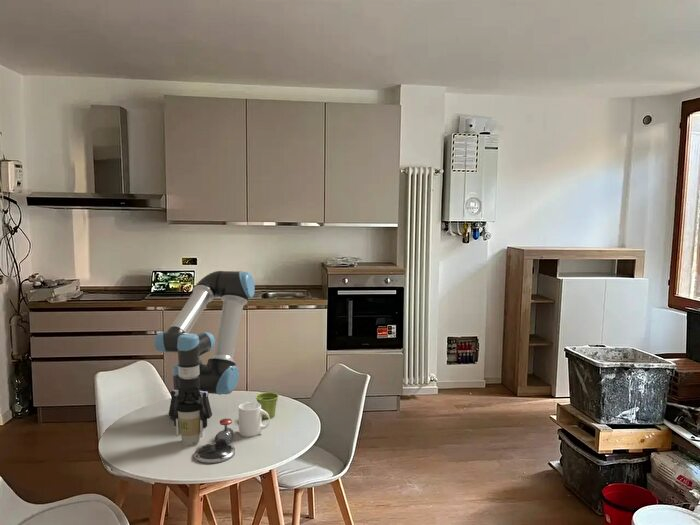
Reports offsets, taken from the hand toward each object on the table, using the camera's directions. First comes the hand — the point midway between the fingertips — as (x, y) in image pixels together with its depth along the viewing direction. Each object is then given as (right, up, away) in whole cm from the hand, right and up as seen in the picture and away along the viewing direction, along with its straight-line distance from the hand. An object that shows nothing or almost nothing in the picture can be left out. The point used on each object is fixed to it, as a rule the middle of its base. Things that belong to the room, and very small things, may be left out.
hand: (190, 435), depth 199 cm
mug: (+22, -2, +8) cm, 24 cm away
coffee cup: (0, -3, 0) cm, 3 cm away
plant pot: (+25, 0, +25) cm, 35 cm away
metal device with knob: (+12, -4, -7) cm, 15 cm away
